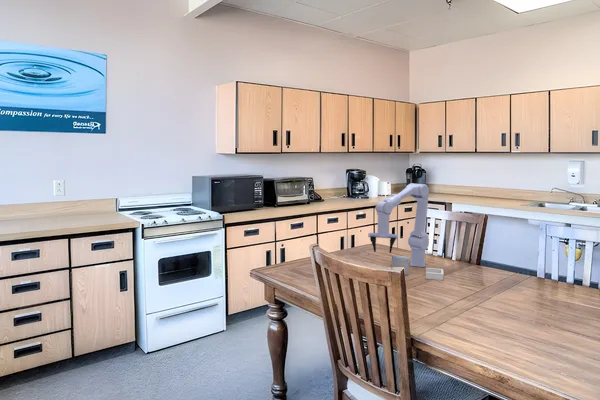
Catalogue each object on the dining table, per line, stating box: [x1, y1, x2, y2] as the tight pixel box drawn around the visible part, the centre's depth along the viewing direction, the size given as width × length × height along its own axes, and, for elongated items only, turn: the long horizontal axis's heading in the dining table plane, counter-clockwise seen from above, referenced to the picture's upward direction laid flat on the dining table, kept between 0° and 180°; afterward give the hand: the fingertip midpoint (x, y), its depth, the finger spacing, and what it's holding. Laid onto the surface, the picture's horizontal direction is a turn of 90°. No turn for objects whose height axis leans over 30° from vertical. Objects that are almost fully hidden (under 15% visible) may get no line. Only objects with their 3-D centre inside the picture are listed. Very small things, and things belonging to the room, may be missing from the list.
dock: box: [425, 267, 445, 281], centre depth 204 cm, size 9×8×3 cm
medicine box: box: [391, 255, 410, 276], centre depth 209 cm, size 8×4×9 cm, turn 84°
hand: (382, 252), depth 211 cm, fingers open, 7 cm apart
